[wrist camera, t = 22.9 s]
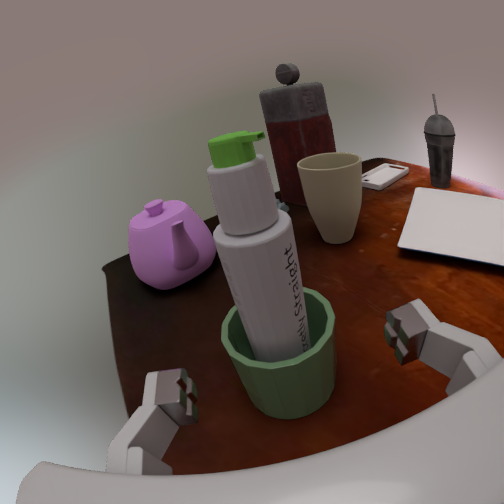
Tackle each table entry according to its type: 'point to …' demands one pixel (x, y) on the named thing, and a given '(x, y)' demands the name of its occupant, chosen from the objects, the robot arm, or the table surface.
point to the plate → (455, 226)
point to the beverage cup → (439, 148)
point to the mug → (333, 193)
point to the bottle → (257, 249)
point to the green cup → (287, 364)
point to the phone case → (383, 176)
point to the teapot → (169, 244)
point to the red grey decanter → (295, 128)
